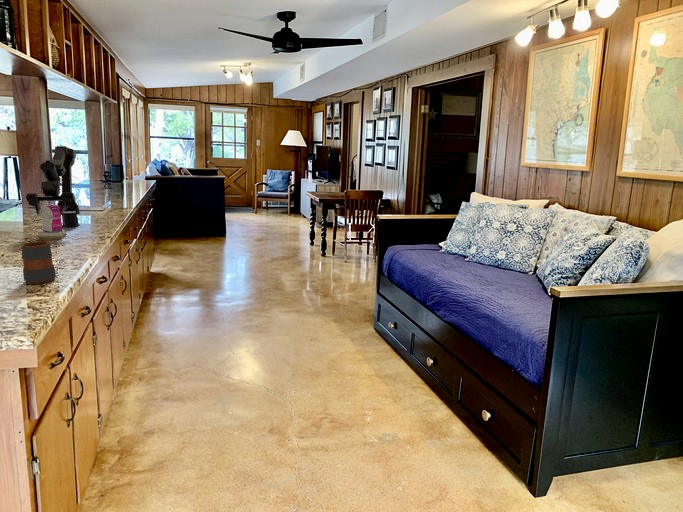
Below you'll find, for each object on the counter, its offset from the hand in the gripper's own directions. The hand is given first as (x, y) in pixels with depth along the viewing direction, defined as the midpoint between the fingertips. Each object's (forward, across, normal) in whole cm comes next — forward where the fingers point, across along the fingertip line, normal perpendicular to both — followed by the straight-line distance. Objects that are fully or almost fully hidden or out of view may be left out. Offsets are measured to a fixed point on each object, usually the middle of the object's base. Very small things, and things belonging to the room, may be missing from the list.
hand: (49, 213), depth 228 cm
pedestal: (+7, 0, +9) cm, 11 cm away
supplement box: (+5, 0, +7) cm, 8 cm away
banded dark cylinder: (+61, +14, -45) cm, 77 cm away
